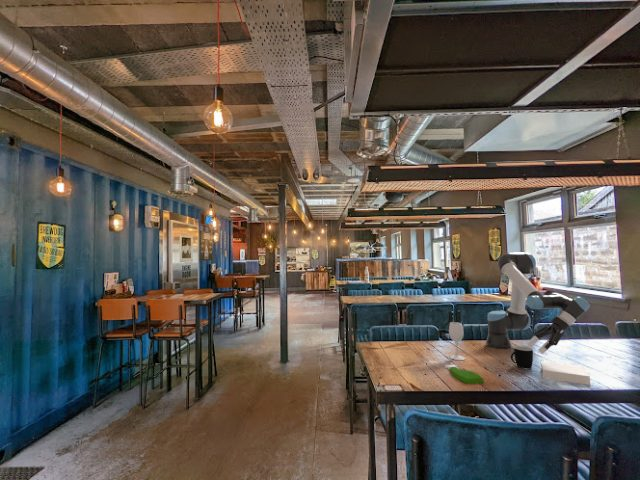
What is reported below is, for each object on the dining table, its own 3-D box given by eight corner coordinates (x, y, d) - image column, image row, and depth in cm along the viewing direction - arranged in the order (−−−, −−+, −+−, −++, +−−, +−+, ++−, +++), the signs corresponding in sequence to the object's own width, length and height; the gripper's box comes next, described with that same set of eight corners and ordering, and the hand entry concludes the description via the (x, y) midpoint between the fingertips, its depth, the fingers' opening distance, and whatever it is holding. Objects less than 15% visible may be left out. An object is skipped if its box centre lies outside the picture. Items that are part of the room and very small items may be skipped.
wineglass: (447, 356, 195) (445, 322, 197) (460, 355, 196) (458, 321, 197) (454, 360, 186) (452, 324, 188) (468, 360, 187) (466, 324, 189)
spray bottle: (465, 385, 151) (440, 369, 175) (486, 383, 152) (458, 367, 176) (464, 379, 151) (439, 363, 176) (485, 377, 152) (458, 362, 177)
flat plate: (543, 378, 157) (542, 369, 157) (541, 368, 171) (540, 361, 171) (590, 385, 148) (589, 376, 148) (584, 374, 161) (583, 366, 161)
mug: (525, 363, 179) (524, 345, 180) (538, 369, 170) (536, 350, 171) (506, 365, 177) (504, 346, 178) (518, 370, 169) (516, 351, 169)
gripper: (583, 331, 157) (551, 360, 159) (556, 321, 182) (529, 347, 183) (570, 320, 159) (539, 349, 160) (545, 312, 183) (518, 338, 185)
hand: (534, 348), depth 172 cm, fingers open, 13 cm apart
